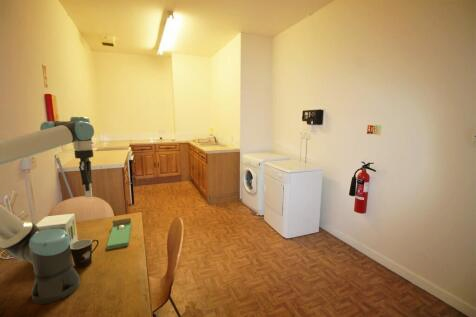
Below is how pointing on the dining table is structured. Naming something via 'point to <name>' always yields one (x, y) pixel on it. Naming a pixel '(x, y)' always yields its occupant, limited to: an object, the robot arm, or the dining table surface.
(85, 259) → the coffee mug
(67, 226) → the supplement box
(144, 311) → the dining table surface
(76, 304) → the dining table surface
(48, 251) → the robot arm
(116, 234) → the green
